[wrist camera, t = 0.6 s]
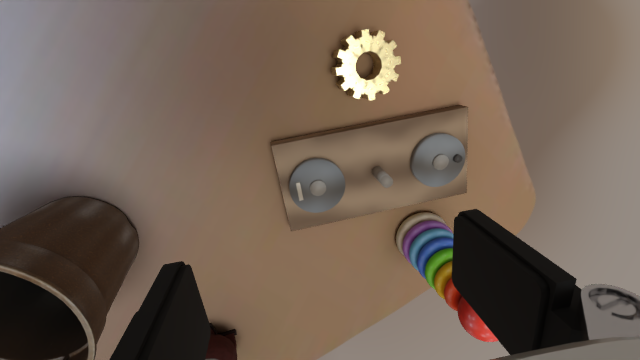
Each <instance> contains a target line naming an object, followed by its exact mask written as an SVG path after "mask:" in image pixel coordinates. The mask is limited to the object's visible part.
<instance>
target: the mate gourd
mask: <svg viewBox="0 0 640 360" xmlns="http://www.w3.org/2000/svg"><path fill="white" fill-rule="evenodd" d="M209 324H210V331H211V333H210V340H209V344H208V349H207V353H206V358H205V360H237V352H236V341H235V336H234V335H237V333H236V330H235V329H234V330H230V331H228V332H225V333H222V334H218V333H217V331H216V330H215V328H214V326H213V325H212V324H211V323H209Z"/></svg>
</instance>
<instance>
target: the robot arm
mask: <svg viewBox="0 0 640 360" xmlns="http://www.w3.org/2000/svg"><path fill="white" fill-rule="evenodd" d="M452 282H453V285H454V287H455V288H456V289H457V290H458V292H459V293H460V294H461V295H462V297H463V298H464V299H465V300H466V301H467V303H468V304H469V305H470V306H471V307H472V309H473V310H474V311H475V312H476V314H477V315H478V316H479V317H480V318H481V320H482V321H483V322H484V323H485V325H486V326H487V327H488V328H489V329H490V331H491V332H492V333H493V334H494V335H495V337H496V338H497V339H498V340H499V342H500V343H501V344H502V345H503V346H504V348H505V349H506V350H507V351H508V352H509V354H510V355H509V356H505V357H500V358H496V359H491V360H640V297H639V296H638V295H636V294H634V293H632V292H630V291H627V290H625V289H622V288H619V287H615V286H612V285H605V284H591V285H588V286H585V287H584V288H583V289H580V288H579V287H577V286H576V285H575V283H576V278H574V277H573V276H571V275H570V274H569V273H567V272H566V271H564V270H563V269H562V268H560V267H559V266H557V265H556V264H554V263H553V262H552V261H550V260H549V259H547V258H546V257H544V256H543V255H542V254H540V253H539V252H537V251H536V250H534V249H533V248H532V247H530V246H529V245H527V244H526V243H525V242H523V241H522V240H520V239H519V238H517V237H516V236H515V235H513V234H512V233H510V232H509V231H508V230H506V229H505V228H503V227H502V226H500V225H499V224H498V223H496V222H495V221H493V220H492V219H491V218H489V217H488V216H486V215H485V214H483V213H482V212H481V211H479V210H477V209H473V210H468V211H462V212H460V213H459V214H458V216H457V217H455V219H454V235H453V256H452ZM210 333H211V331H210V324H209V321H208V318H207V315H206V312H205V309H204V306H203V302H202V299H201V296H200V293H199V290H198V287H197V284H196V281H195V277H194V274H193V271H192V268H191V266H190V265H185V263H184V262H182V261H181V262H175V263H170V264H165V265H163V267H162V268H161V270H160V272H159V274H158V276H157V277H156V279H155V281H154V283H153V285H152V287H151V289H150V290H149V292H148V294H147V296H146V298H145V300H144V301H143V303H142V305H141V307H140V309H139V311H138V312H136V314H135V315H134V316H133V318H132V320H131V322H130V324H129V325H128V327H127V329H126V331H125V333H124V334H123V336H122V338H121V340H120V342H119V344H118V345H117V347H116V349H115V351H114V353H113V354H112V356H111V358H110V360H205V358H206V353H207V349H208V344H209V340H210Z"/></svg>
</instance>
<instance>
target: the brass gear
mask: <svg viewBox="0 0 640 360" xmlns="http://www.w3.org/2000/svg"><path fill="white" fill-rule="evenodd" d="M384 36H385V33H384V32H382V31H380V30H378V31H374V32H371V33H370V36H369V29H365V30H360V31H358V32H355V39H354V37H353V36H352V35H350V36H347V37H345V38H344V39H343V40H342V41H340V42H341V43H342V45H343V46H344V47H343V48H342V49H343V50H340V49H339V50H334V53H333V56H332V57H333V58H335V59H337V62H338V64H336V65H337V67H331V72H332V75H336V76H337V75H338V76H340V77H339V79H340V80H339V81H338V82H337V83H336V85H337V86H338V87H339V89H341V90H344V91H346V90H347V89H349V90H348V93H347V95H349V96H352V97H354V98H357V99H360V96H362V98H364V99H367V100H372V99H375V93H376V92H377V93H380V94H386V93H387V92H388V91H389V88H388V87H387V84H388V82H390V81H396V80H397V78H398V76H399V74H396V73H394V69H392V68H395V65H398V64H401V59H400V56H397V57H394V55H392V54H393V51H392V50H393V49H394V48H396V47H397V45H396V44H395V42H394V40H390V41H384V40H383V38H384ZM363 52H365V53H367V54H369V55H370V56H371V57H372V59H373V64H374V68H373V70H372V73H371V74H370V75H369V76H368V77H367V78H363V79H362V78H360V77H359V75H358V74H357V73H356V67H355V64H356V61H357V59H358V57H359V56H360V55H361V54H362V53H363Z"/></svg>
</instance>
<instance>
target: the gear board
mask: <svg viewBox="0 0 640 360" xmlns="http://www.w3.org/2000/svg"><path fill="white" fill-rule="evenodd" d="M467 139H468V107H466V106H462V105H456V106H451V107H446V108H441V109H436V110H431V111H426V112H420V113H415V114H410V115H405V116H400V117H395V118H390V119H385V120H380V121H375V122H370V123H365V124H359V125H354V126H349V127H344V128H339V129H334V130H329V131H324V132H319V133H314V134H309V135H303V136H298V137H293V138H288V139H283V140H278V141H273V142H271V147H272V151H273V155H274V160H275V164H276V168H277V173H278V177H279V181H280V186H281V190H282V194H283V199H284V203H285V207H286V212H287V216H288V221H289V225H290V229H291V231H295V230H300V229H305V228H309V227H314V226H318V225H323V224H327V223H332V222H336V221H341V220H345V219H350V218H354V217H359V216H364V215H368V214H373V213H377V212H382V211H386V210H391V209H395V208H400V207H404V206H409V205H413V204H418V203H423V202H427V201H432V200H436V199H441V198H445V197H450V196H454V195H459V194H463V193H467Z"/></svg>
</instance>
